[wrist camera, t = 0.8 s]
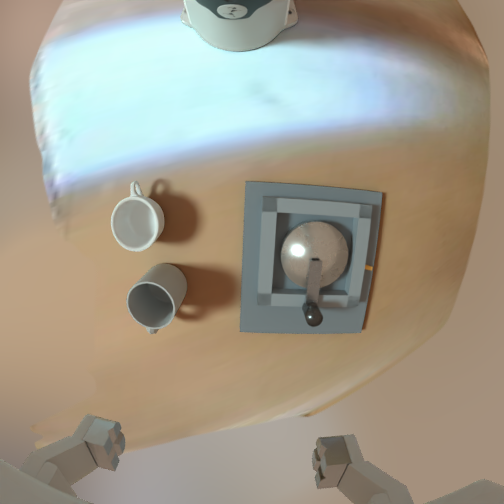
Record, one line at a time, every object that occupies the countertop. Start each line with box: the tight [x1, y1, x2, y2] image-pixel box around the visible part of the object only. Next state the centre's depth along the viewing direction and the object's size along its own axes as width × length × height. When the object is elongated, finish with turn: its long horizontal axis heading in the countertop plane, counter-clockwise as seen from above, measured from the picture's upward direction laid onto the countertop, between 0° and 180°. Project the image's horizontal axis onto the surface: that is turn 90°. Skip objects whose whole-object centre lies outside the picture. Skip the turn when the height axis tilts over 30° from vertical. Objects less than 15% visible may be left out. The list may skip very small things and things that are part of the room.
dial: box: [280, 220, 348, 327], centre depth 42 cm, size 14×10×6 cm
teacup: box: [111, 181, 165, 251], centre depth 42 cm, size 10×8×5 cm
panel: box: [240, 181, 382, 334], centre depth 45 cm, size 24×21×3 cm
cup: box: [126, 263, 187, 334], centre depth 43 cm, size 7×10×9 cm
